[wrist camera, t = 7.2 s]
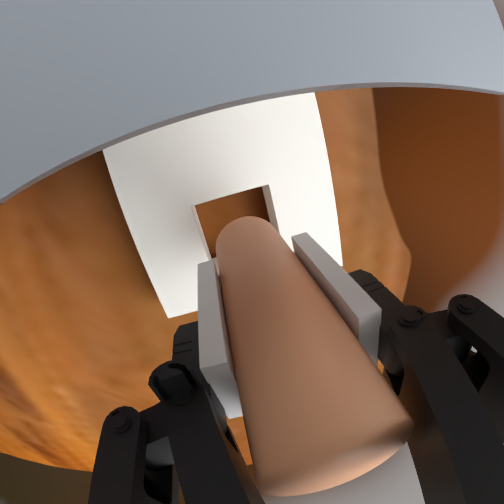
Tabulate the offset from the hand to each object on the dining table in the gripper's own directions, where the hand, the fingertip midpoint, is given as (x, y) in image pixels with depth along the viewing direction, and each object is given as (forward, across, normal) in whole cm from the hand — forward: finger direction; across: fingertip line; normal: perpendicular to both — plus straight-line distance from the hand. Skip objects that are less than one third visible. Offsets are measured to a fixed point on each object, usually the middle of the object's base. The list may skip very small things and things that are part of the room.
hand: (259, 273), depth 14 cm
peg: (+3, 0, 0) cm, 3 cm away
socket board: (+9, 0, +4) cm, 10 cm away
